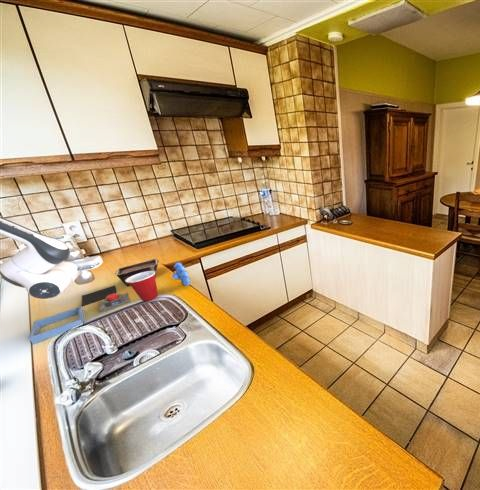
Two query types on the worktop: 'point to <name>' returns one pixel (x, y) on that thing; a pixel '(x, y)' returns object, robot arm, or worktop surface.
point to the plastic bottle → (75, 255)
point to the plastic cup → (144, 285)
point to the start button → (112, 296)
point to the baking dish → (136, 269)
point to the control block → (114, 302)
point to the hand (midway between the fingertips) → (75, 260)
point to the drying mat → (97, 295)
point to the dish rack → (39, 337)
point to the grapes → (181, 274)
